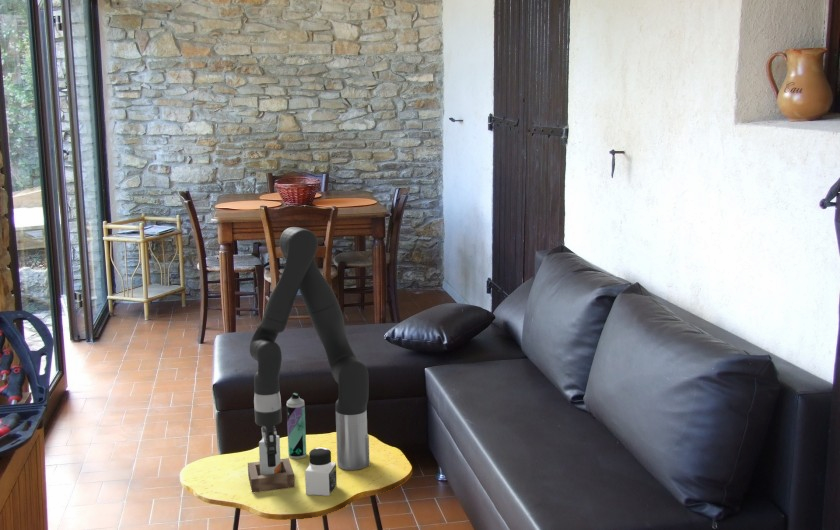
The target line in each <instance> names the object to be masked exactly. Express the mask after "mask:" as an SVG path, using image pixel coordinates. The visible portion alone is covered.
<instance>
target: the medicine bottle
mask: <svg viewBox="0 0 840 530" xmlns="http://www.w3.org/2000/svg"><path fill="white" fill-rule="evenodd" d="M308 453H309V455H308V456H309V459H308V460H309V465H307V468H306V469H305V471H304V483H305V494H306V495H308V496H309V495H310V496H325V497H330V496H331V495H332V494H333V492H334V490H335V489H336V487H337V485H338V484H337V462H335V461H334V462H333V461H332V451H331V449H329V448H326V447H316V448H313V449H311V450H310V451H309V452H308Z"/></svg>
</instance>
